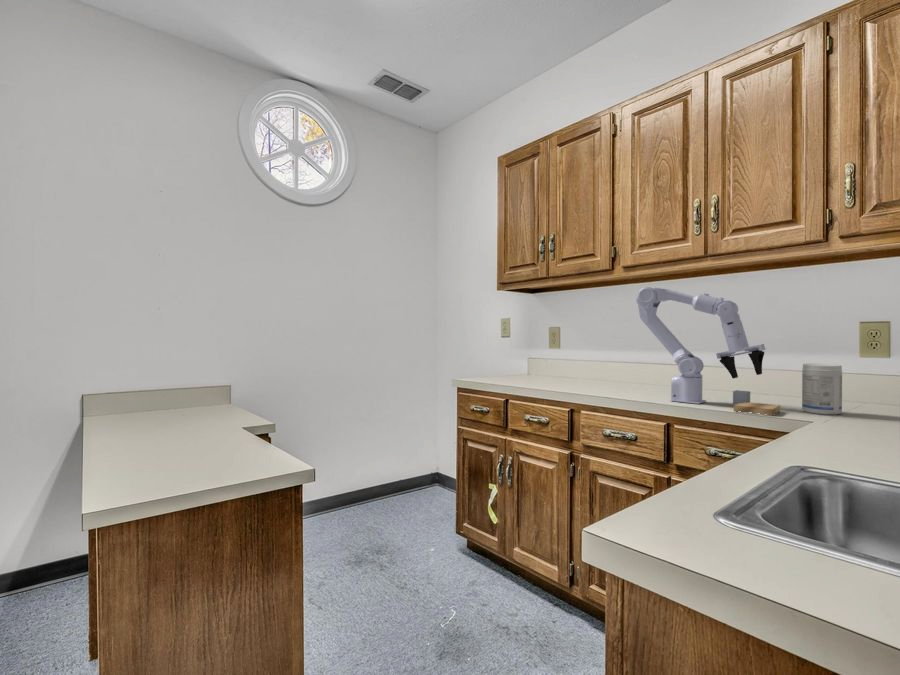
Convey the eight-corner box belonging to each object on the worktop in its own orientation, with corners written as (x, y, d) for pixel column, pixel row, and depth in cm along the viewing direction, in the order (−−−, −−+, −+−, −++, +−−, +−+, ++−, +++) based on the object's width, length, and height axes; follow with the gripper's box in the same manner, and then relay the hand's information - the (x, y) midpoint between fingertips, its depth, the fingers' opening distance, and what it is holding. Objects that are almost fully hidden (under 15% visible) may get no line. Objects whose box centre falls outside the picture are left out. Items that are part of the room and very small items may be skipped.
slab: (733, 411, 142) (733, 405, 142) (742, 407, 149) (742, 401, 149) (772, 416, 135) (772, 409, 135) (780, 411, 142) (780, 405, 142)
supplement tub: (817, 409, 146) (818, 363, 146) (850, 414, 137) (851, 365, 137) (793, 410, 144) (794, 363, 144) (825, 416, 135) (826, 365, 135)
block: (732, 406, 152) (733, 391, 151) (736, 405, 154) (736, 390, 154) (746, 408, 149) (747, 392, 149) (750, 406, 152) (750, 391, 151)
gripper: (764, 329, 148) (777, 370, 146) (720, 339, 160) (731, 377, 158) (753, 331, 144) (766, 374, 142) (708, 341, 157) (720, 380, 155)
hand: (747, 376), depth 150 cm, fingers open, 7 cm apart
